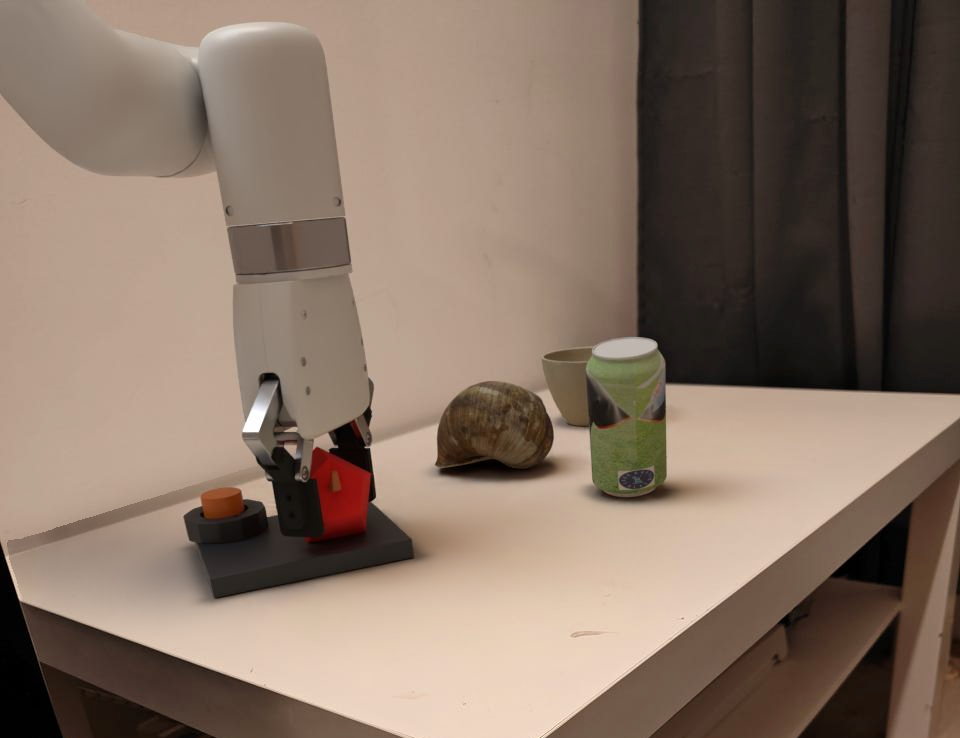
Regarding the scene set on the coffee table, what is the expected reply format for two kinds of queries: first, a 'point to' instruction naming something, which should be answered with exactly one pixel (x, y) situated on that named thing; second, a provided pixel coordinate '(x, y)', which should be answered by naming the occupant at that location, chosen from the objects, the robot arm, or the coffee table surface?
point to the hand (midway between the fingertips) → (331, 515)
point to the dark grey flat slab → (285, 549)
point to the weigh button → (222, 502)
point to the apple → (340, 495)
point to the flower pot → (568, 382)
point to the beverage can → (627, 416)
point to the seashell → (494, 427)
